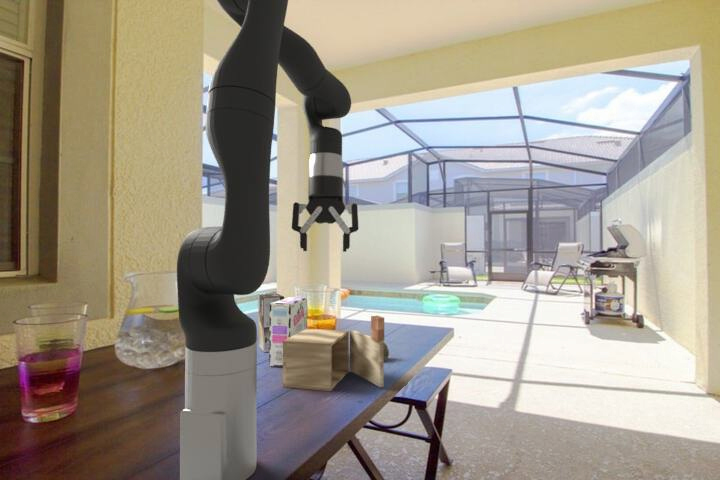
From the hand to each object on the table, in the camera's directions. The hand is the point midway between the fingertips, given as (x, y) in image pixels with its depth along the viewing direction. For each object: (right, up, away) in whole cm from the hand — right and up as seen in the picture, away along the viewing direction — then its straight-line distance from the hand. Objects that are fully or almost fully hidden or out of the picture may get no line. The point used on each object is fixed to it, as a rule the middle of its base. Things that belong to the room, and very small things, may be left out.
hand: (325, 251), depth 88 cm
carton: (-2, -30, +6) cm, 31 cm away
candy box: (-12, -30, +22) cm, 39 cm away
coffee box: (-20, -31, +35) cm, 51 cm away
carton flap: (+9, -29, +6) cm, 31 cm away
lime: (+13, -30, +22) cm, 40 cm away
